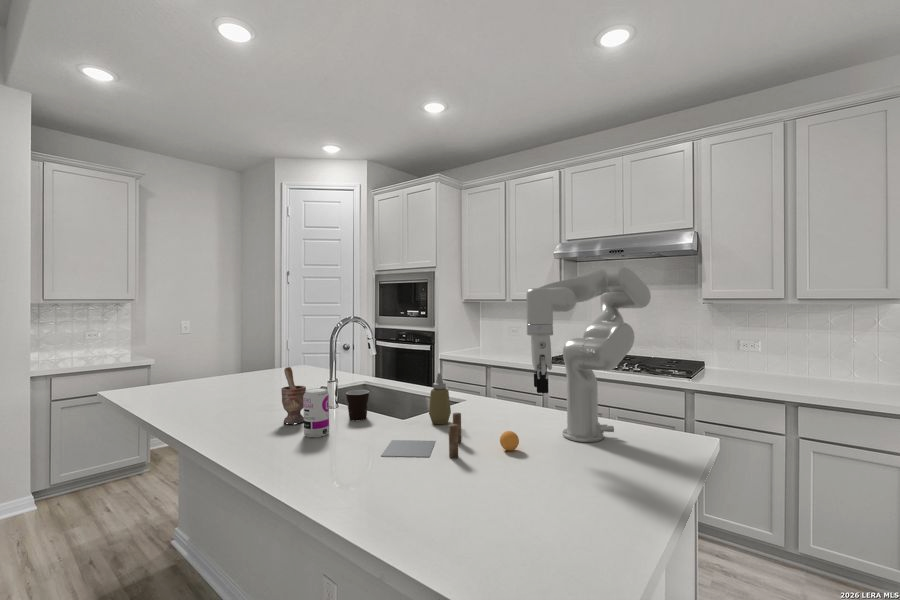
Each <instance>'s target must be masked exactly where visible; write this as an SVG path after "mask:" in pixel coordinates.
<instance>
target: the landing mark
mask: <svg viewBox="0 0 900 600" xmlns="http://www.w3.org/2000/svg"><path fill="white" fill-rule="evenodd" d="M435 444H436V440H421V439H420V440H419V439H418V440H415V439H414V440H410V439H407V440H406V439H392V440H391V441H390V442H389V443H388V445H387V447H386V448H385V449H384V451H383V452H382V453H381V455H380V457H385V456H392V458H393V456H394V457H395V458H398V457H399V458H400V457H401V458H403V457H404V458H411V457H412V458H430V456H431V453H432V450H433V449H434V446H435Z"/></svg>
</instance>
